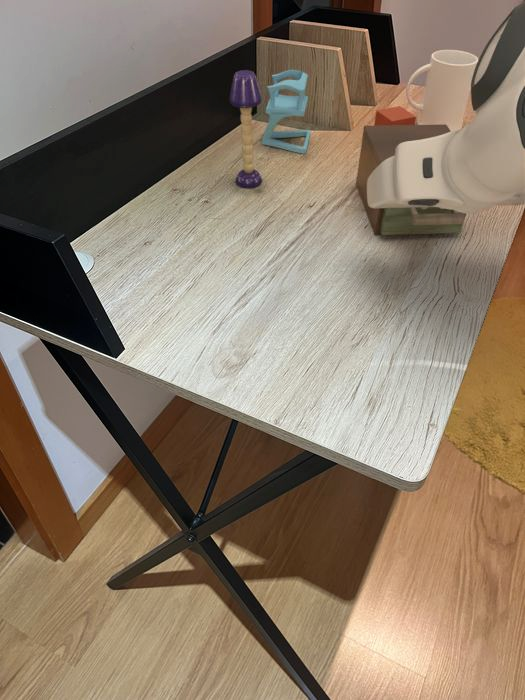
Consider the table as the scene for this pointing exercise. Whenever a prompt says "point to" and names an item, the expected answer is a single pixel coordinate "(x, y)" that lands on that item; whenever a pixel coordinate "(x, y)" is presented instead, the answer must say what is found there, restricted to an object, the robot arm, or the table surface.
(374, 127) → the cabinet
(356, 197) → the table surface
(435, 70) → the mug
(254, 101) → the toy lamp
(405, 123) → the block
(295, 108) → the chair
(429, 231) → the drawer
